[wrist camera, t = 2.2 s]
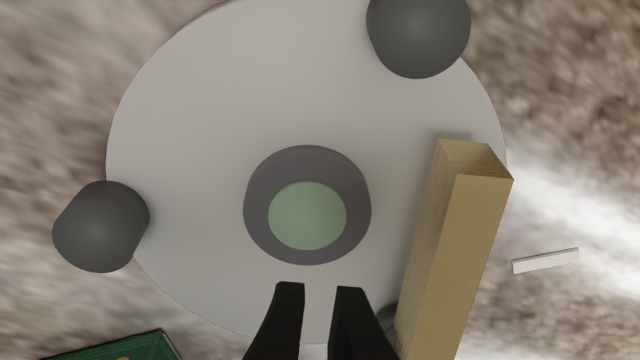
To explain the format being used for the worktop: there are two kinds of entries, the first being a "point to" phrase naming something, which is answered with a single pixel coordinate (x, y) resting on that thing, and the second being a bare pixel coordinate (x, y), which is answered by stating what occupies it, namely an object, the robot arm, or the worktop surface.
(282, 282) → the robot arm
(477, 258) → the lever
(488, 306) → the worktop surface
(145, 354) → the coffee box
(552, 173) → the worktop surface
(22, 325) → the worktop surface
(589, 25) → the worktop surface
